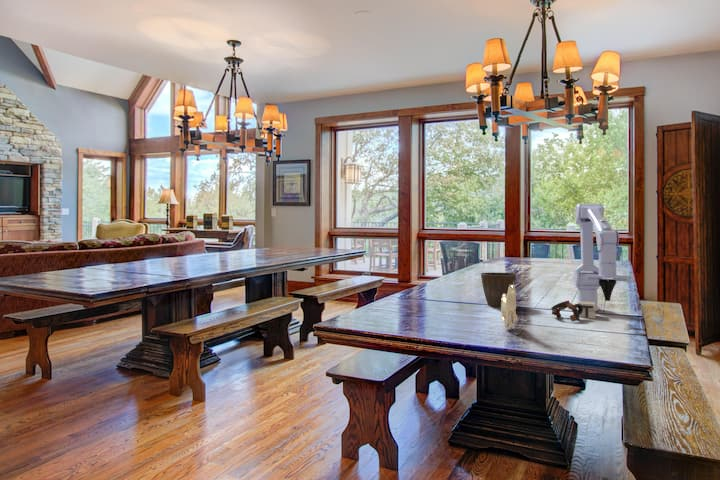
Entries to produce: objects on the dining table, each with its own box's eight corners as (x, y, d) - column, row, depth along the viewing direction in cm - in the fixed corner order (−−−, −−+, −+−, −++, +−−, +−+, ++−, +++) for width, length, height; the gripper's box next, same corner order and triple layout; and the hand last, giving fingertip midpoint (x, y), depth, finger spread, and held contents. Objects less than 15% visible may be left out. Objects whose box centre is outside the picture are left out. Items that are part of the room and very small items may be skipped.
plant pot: (520, 312, 206) (520, 274, 206) (485, 312, 206) (485, 274, 206) (510, 307, 221) (510, 272, 221) (477, 307, 221) (477, 272, 221)
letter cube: (578, 316, 196) (578, 301, 196) (595, 317, 193) (595, 302, 193) (578, 318, 190) (578, 303, 190) (595, 319, 188) (595, 304, 188)
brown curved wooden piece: (567, 323, 180) (557, 302, 183) (554, 330, 188) (544, 311, 191) (593, 314, 183) (582, 294, 186) (578, 322, 192) (568, 303, 195)
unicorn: (497, 322, 182) (497, 276, 182) (508, 322, 181) (508, 276, 181) (508, 332, 162) (508, 280, 162) (520, 332, 162) (520, 281, 162)
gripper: (583, 263, 179) (583, 300, 179) (628, 264, 170) (628, 303, 170) (587, 262, 184) (587, 298, 184) (631, 263, 176) (631, 301, 176)
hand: (607, 300), depth 178 cm, fingers closed
